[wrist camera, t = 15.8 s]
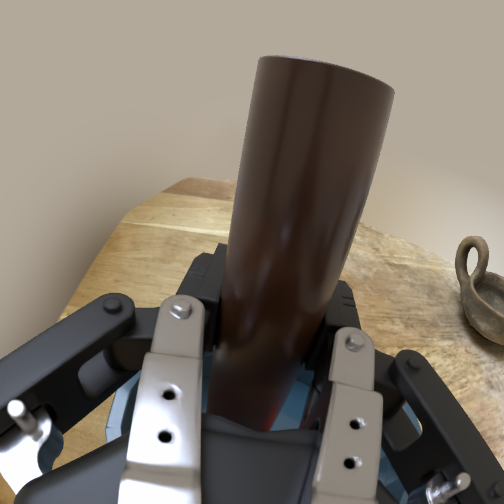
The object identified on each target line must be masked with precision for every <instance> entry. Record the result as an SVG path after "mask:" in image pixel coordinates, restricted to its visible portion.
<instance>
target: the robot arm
mask: <svg viewBox="0 0 504 504" xmlns="http://www.w3.org/2000/svg"><path fill="white" fill-rule="evenodd" d="M227 246H228V245H226V244H222V243H219V244H218V246H217V248H216V250H215V253H214V255H213V254H209V253H204V252H203V253H202V254H200V255H199V256H197V257H196V258H195V259H194V260H193V262H192V264H191V267H190V268H189V270H188V272H187V274H186V275H185V277H184V279H183V281H182V283H181V285H180V287H179V289H178V291H177V293H176V295H174V296H171V297H168V298H167V299H165V300H164V301H163V302H162V304H161V306H160V307H156V308H135V305H134V302H133V300H132V299H131V298H130V297H128V296H127V295H124V294H121V293H109V294H105V295H102V296H100V297H99V298H97V299H95V300H94V301H92V302H90V303H89V304H87V305H85V306H84V307H82V308H80V309H79V310H77V311H76V312H74V313H72V314H71V315H69V316H67V317H66V318H64V319H63V320H61V321H59V322H58V323H56V324H55V325H53V326H52V327H50V328H48V329H47V330H45V331H44V332H42V333H40V334H39V335H38V336H36V337H34V338H33V339H31V340H30V341H28V342H27V343H25V344H24V345H22V346H21V347H19V348H17V349H16V350H14V351H13V352H11V353H10V354H8V355H7V356H5V357H4V358H2V359H1V360H0V472H1V474H2V475H3V477H4V478H5V480H6V481H7V483H8V484H9V485H10V487H11V488H12V489H13V491H14V492H15V494H16V497H15V500H14V504H400V503H399V502H398V501H397V499H396V498H395V497H394V496H393V495H392V494H391V493H390V492H389V491H388V489H387V488H386V487H385V486H384V485H383V484H382V483H381V482H380V480H379V479H378V471H379V461H380V449H381V448H382V449H383V451H384V453H385V455H386V456H387V458H388V460H389V462H390V464H391V465H392V467H393V469H394V471H395V473H396V474H397V476H398V478H399V480H400V482H401V483H402V485H403V487H404V489H405V491H406V492H407V494H408V499H407V503H406V504H504V470H503V469H502V467H501V466H500V464H499V462H498V461H497V459H496V458H495V456H494V454H493V453H492V451H491V450H490V448H489V447H488V445H487V444H486V442H485V440H484V439H483V437H482V436H481V434H480V433H479V431H478V430H477V429H476V427H475V426H474V424H473V423H472V421H471V420H470V418H469V417H468V415H467V414H466V413H465V411H464V410H463V408H462V407H461V405H460V404H459V403H458V401H457V400H456V399H455V397H454V396H453V394H452V393H451V392H450V390H449V389H448V388H447V386H446V385H445V383H444V382H443V381H442V379H441V378H440V377H439V375H438V374H437V373H436V371H435V370H434V369H433V368H432V366H431V365H430V364H429V362H428V361H427V360H426V359H425V357H423V356H422V355H421V354H420V353H418V352H416V351H413V350H408V349H407V350H402V351H400V352H399V353H398V354H397V355H396V357H392V356H390V355H387V354H384V353H382V352H380V351H377V350H376V349H375V347H374V342H373V340H372V339H371V337H370V336H369V335H368V334H366V333H365V332H364V331H362V330H361V326H360V321H359V317H358V313H357V309H356V305H355V301H354V297H353V293H352V290H351V288H350V287H349V286H348V284H347V283H346V282H345V281H341V280H338V283H337V285H336V288H335V291H334V293H333V296H332V298H331V301H330V303H329V306H328V308H327V311H326V313H325V315H324V318H323V320H322V323H321V325H320V327H319V330H318V332H317V334H316V337H315V339H314V341H313V343H312V346H311V348H310V350H309V352H308V355H307V357H306V359H305V370H308V371H314V378H313V380H312V381H311V383H310V386H309V390H308V394H307V398H306V402H305V406H304V410H303V414H302V418H301V422H300V425H299V428H295V429H286V430H276V431H264V432H259V431H255V430H252V429H250V428H247V427H245V426H242V425H240V424H237V423H235V422H233V421H230V420H228V419H226V418H224V417H221V416H217V415H212V414H208V413H204V412H201V398H202V370H203V356H204V353H205V351H207V352H212V351H213V347H214V343H215V335H216V328H217V320H218V313H219V305H220V298H221V288H222V280H223V273H224V266H225V259H226V252H227ZM139 370H142V371H141V376H140V381H139V386H138V391H137V396H136V402H135V408H134V413H133V419H132V425H131V431H129V432H127V433H125V434H123V435H122V436H120V437H118V438H116V439H114V440H112V441H110V442H109V443H107V444H105V445H103V446H101V447H99V448H97V449H95V450H93V451H91V452H89V453H87V454H85V455H83V456H81V457H79V458H77V459H75V460H73V461H71V462H69V463H67V464H65V465H63V466H61V467H58V468H56V469H54V470H52V466H53V463H54V461H55V459H56V458H57V457H58V456H59V455H60V453H61V451H62V449H63V444H64V440H63V436H62V435H63V434H64V433H66V432H67V431H68V430H69V429H71V428H72V427H73V426H74V425H75V424H77V423H78V422H79V421H80V420H82V419H83V418H84V417H85V416H86V415H88V414H89V413H90V412H91V411H92V410H94V409H95V408H96V407H97V406H99V405H100V404H101V403H102V402H103V401H105V400H106V399H107V398H108V397H109V396H111V395H112V394H113V393H114V392H115V391H117V390H118V389H119V388H120V387H121V386H123V385H124V384H125V383H126V382H127V381H129V380H130V379H131V378H132V377H133V376H135V375H136V374H137V373H138V372H139ZM406 403H408V404H409V406H410V407H411V409H412V411H413V412H414V414H415V415H416V417H417V418H418V420H419V421H420V423H421V425H422V434H421V435H420V434H419V433H418V431H417V429H416V428H415V426H414V425H413V423H412V422H411V420H410V418H409V417H408V415H407V414H406V412H405V411H404V409H403V406H404V405H405V404H406Z"/></svg>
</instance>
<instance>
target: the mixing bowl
mask: <svg viewBox="0 0 504 504" xmlns="http://www.w3.org/2000/svg"><path fill="white" fill-rule="evenodd" d="M213 348H214V347H213ZM212 356H213V351H212V352H207V351H205V353H204V356H203V370H202V398H201V412H204V413H206V407H207V398H208V390H209V381H210V373H211V365H212ZM141 371H142V370H139V372H138V373H137V374H136V375H135V376H133V377H132V378H131V379H130V380H129V381H127V382H126V383H125V384H124V385H123V386H121V387H120V388H119V389H118V390H117V391H116V392H115V396H114V399H113V402H112V406H111V409H110V413H109V416H108V420H107V424H106V428H105V432H106V442H107V443H109V442H110V441H112V440H114V439H116V438H118V437H120V436H122V435H123V434H125V433H127V432H129V431H131V425H132V419H133V413H134V408H135V402H136V396H137V391H138V386H139V381H140V376H141ZM313 378H314V371H308V370H305V361H304V363H303V366H302V368H301V370H300V372H299V374H298V376H297V378H296V381H295V383H294V385H293V387H292V389H291V391H290V393H289V395H288V397H287V399H286V401H285V403H284V405H283V407H282V409H281V411H280V413H279V415H278V417H277V419H276V421H275V423H274V425H273V426H272V428H271V430H270V431H276V430H286V429H295V428H299V425H300V422H301V418H302V414H303V410H304V406H305V402H306V398H307V394H308V390H309V386H310V383H311V381H312V380H313ZM403 409H404V411H405V412H406V414H407V415H408V417H409V418H410V420H411V422H412V423H413V425H414V426H415V428H416V429H417V431H418V433H419V434H420V435H421V434H422V431H421V428H420V425H419V422H418V420H417V417H416V415H415V414H414V412H413V411H412V409H411V407H410V406H409V404H408V403H406V404H405V405H404V406H403ZM378 479H379V480H380V482H381V483H382V484H383V485H384V486H385V487H386V488H387V489H388V491H389V492H390V493H391V494H392V495H393V496H394V497H395V498H396V499H397V501H398V502H399V503H400V504H406V503H407V499H408V494H407V492H406V491H405V489H404V487H403V485H402V483H401V482H400V480H399V478H398V476H397V474H396V473H395V471H394V469H393V467H392V465H391V464H390V462H389V460H388V458H387V456H386V455H385V453H384V451H383V449H382V448H381V449H380V461H379V471H378Z"/></svg>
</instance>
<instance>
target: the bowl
mask: <svg viewBox="0 0 504 504" xmlns="http://www.w3.org/2000/svg"><path fill="white" fill-rule="evenodd" d="M472 247H475V248H476V249H477V251H478V263H477V267H476V269H475V270H474V272H473V273H472V275H471V276H469V275H468V271H467V257H468V253H469V251H470V249H471V248H472ZM488 258H489V250H488V246H487V243H486V242H485V240H484V239H482V238H481V237H479V236H469V237H466V238H465V239H464V240H463V241H462V242H461V243H460V245H459V247H458V250H457V253H456V258H455V268H456V274H457V278H458V281H459V283H460V288H461V300H462V305H463V308H464V311H465V314H466V317H467V319H468V320H469V322H470V325H471V326H473V327H474V328H475V329H476V330H477V331H478V332H479V333H480V334H481V335H482V336H484V337H485V338H487V339H489V340H491V341H493V342H495V343H497V344H500V345H503V346H504V277H502V276H500V275H497V274H495V273H492V272H487V271H486V268H487V265H488Z"/></svg>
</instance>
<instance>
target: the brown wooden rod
mask: <svg viewBox="0 0 504 504" xmlns="http://www.w3.org/2000/svg"><path fill="white" fill-rule="evenodd" d="M394 94H395V92H394V89H393V88H392V87H390V86H389V85H387V84H386V83H384V82H382V81H380V80H378V79H376V78H374V77H371V76H369V75H366V74H364V73H361V72H358V71H355V70H352V69H349V68H345V67H342V66H338V65H335V64H331V63H327V62H322V61H317V60H312V59H306V58H299V57H291V56H264V57H260V59H259V60H258V66H257V71H256V77H255V82H254V88H253V93H252V99H251V104H250V110H249V115H248V121H247V127H246V133H245V139H244V144H243V151H242V156H241V162H240V168H239V175H238V181H237V187H236V193H235V200H234V206H233V212H232V219H231V226H230V232H229V239H228V246H227V252H226V259H225V266H224V273H223V280H222V288H221V298H220V305H219V313H218V320H217V328H216V335H215V343H214V348H213V356H212V365H211V373H210V381H209V390H208V398H207V407H206V413H208V414H212V415H217V416H221V417H224V418H226V419H228V420H230V421H233V422H235V423H237V424H240V425H242V426H245V427H247V428H250V429H252V430H255V431H259V432H264V431H270V430H271V428H272V426H273V425H274V423H275V421H276V419H277V417H278V415H279V413H280V411H281V409H282V407H283V405H284V403H285V401H286V399H287V397H288V395H289V393H290V391H291V389H292V387H293V385H294V383H295V381H296V378H297V376H298V374H299V372H300V370H301V368H302V366H303V363H304V361H305V359H306V357H307V355H308V352H309V350H310V348H311V346H312V343H313V341H314V339H315V337H316V334H317V332H318V330H319V327H320V325H321V323H322V320H323V318H324V315H325V313H326V311H327V308H328V306H329V303H330V301H331V298H332V296H333V293H334V291H335V288H336V285H337V283H338V280H339V278H340V275H341V272H342V270H343V267H344V264H345V261H346V259H347V256H348V253H349V250H350V248H351V245H352V242H353V239H354V236H355V233H356V230H357V227H358V224H359V221H360V218H361V215H362V212H363V209H364V206H365V203H366V200H367V196H368V193H369V190H370V186H371V183H372V180H373V176H374V173H375V170H376V166H377V162H378V159H379V155H380V151H381V148H382V144H383V140H384V136H385V132H386V128H387V124H388V120H389V116H390V112H391V108H392V103H393V99H394Z"/></svg>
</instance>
